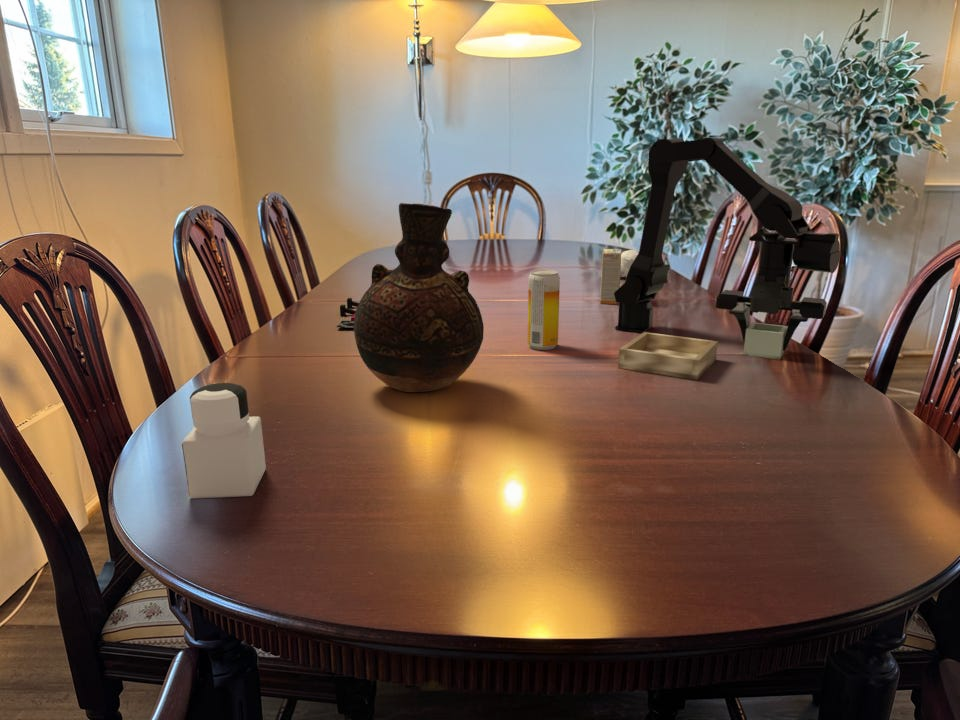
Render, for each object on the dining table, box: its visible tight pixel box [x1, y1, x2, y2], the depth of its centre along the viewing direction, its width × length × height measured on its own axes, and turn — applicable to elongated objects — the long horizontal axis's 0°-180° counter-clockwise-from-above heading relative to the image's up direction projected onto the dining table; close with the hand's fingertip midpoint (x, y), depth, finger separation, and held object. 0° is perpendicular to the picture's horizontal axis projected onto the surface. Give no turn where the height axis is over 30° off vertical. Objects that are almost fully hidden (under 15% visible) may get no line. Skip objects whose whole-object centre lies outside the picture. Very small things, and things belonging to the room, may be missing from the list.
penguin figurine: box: [620, 249, 639, 277], centre depth 209 cm, size 6×8×12 cm
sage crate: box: [743, 322, 788, 361], centre depth 131 cm, size 6×6×5 cm
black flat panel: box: [336, 297, 359, 328], centre depth 164 cm, size 30×3×15 cm
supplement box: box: [599, 248, 622, 305], centre depth 176 cm, size 8×5×13 cm, turn 168°
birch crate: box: [617, 331, 719, 381], centre depth 125 cm, size 14×14×4 cm
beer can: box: [527, 269, 561, 351], centre depth 135 cm, size 6×6×15 cm
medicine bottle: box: [181, 382, 267, 499], centre depth 79 cm, size 7×7×12 cm
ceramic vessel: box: [353, 202, 484, 393], centre depth 110 cm, size 21×18×30 cm
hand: (764, 347), depth 131 cm, fingers closed on sage crate, 6 cm apart
